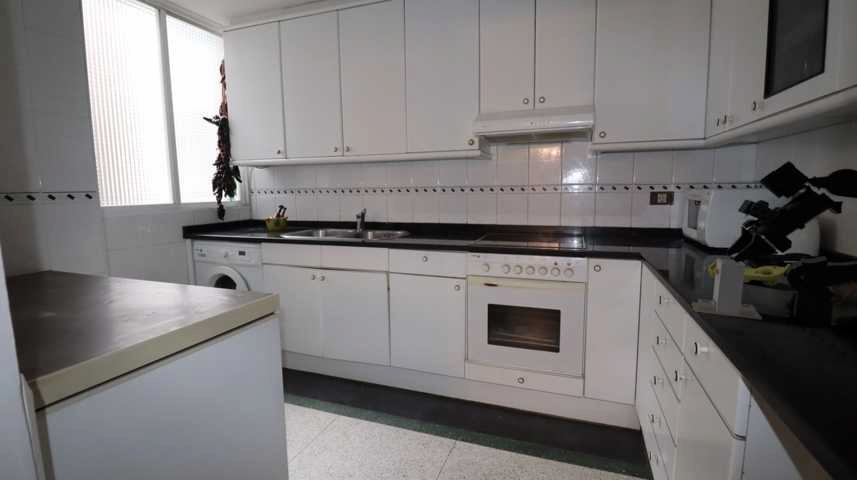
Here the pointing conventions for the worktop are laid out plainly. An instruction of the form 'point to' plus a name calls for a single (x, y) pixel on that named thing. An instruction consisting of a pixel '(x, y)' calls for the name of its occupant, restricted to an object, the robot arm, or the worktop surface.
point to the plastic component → (758, 273)
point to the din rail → (710, 307)
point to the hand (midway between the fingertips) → (730, 257)
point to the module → (728, 286)
